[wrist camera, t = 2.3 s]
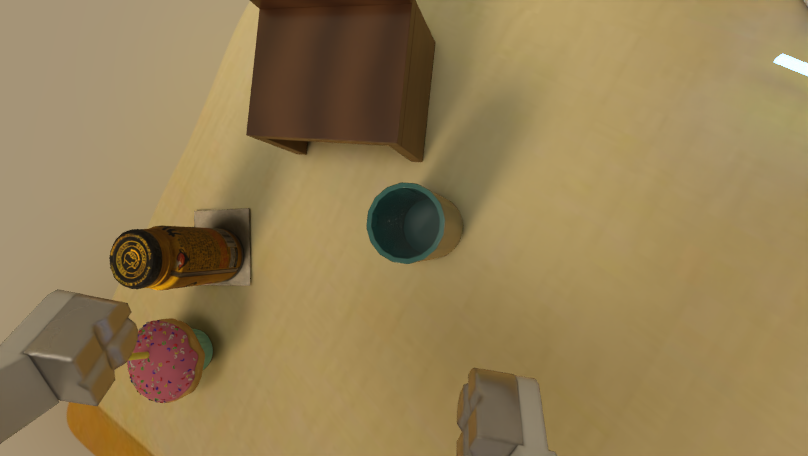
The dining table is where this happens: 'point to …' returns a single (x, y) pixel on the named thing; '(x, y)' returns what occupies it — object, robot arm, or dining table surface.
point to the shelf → (341, 74)
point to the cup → (413, 224)
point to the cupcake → (168, 360)
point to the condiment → (186, 253)
